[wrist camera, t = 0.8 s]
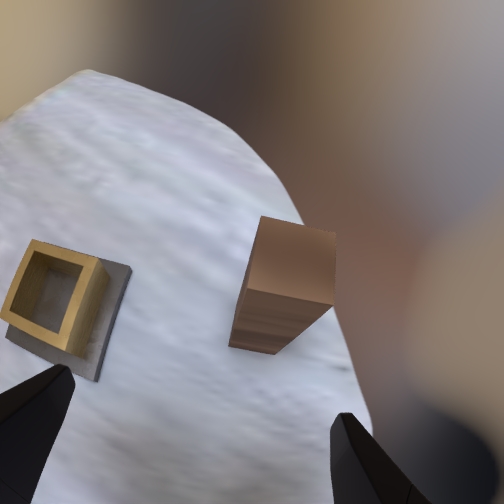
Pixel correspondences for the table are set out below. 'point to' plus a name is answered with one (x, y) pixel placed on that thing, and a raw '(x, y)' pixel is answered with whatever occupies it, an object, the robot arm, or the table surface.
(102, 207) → the table surface
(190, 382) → the table surface
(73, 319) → the gold square frame
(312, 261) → the rail post
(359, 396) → the table surface
